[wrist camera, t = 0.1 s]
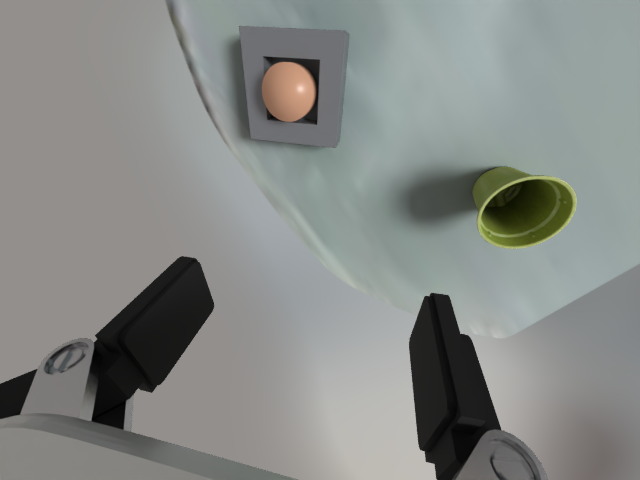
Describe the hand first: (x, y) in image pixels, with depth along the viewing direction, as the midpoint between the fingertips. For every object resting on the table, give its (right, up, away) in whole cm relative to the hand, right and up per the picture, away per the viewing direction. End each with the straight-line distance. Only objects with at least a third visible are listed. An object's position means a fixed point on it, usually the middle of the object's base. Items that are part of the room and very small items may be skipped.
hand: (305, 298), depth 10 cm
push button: (-3, +21, +21) cm, 30 cm away
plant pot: (+26, +10, +25) cm, 38 cm away
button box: (-2, +23, +23) cm, 33 cm away
